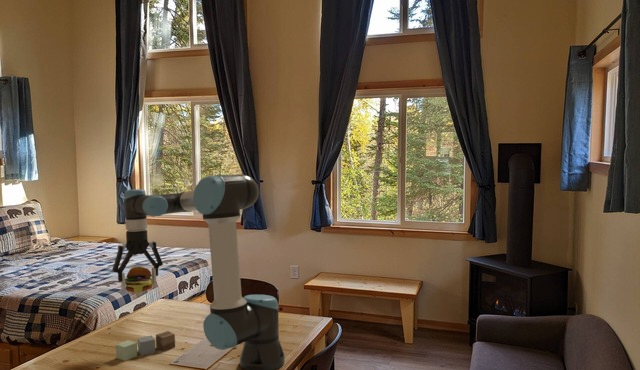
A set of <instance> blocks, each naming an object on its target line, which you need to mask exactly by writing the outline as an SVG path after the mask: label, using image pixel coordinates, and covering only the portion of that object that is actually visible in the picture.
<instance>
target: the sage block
mask: <svg viewBox="0 0 640 370" xmlns="http://www.w3.org/2000/svg"><path fill="white" fill-rule="evenodd" d="M115 351H116V353H115V354H116V359H119V360H121V361H124V362H126V361H128V360H131V359H134V358H136V357H138V341H136V342H135V341H133V340H130V339H126V340H124V341H121V342H118V343H116V344H115Z"/></svg>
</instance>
